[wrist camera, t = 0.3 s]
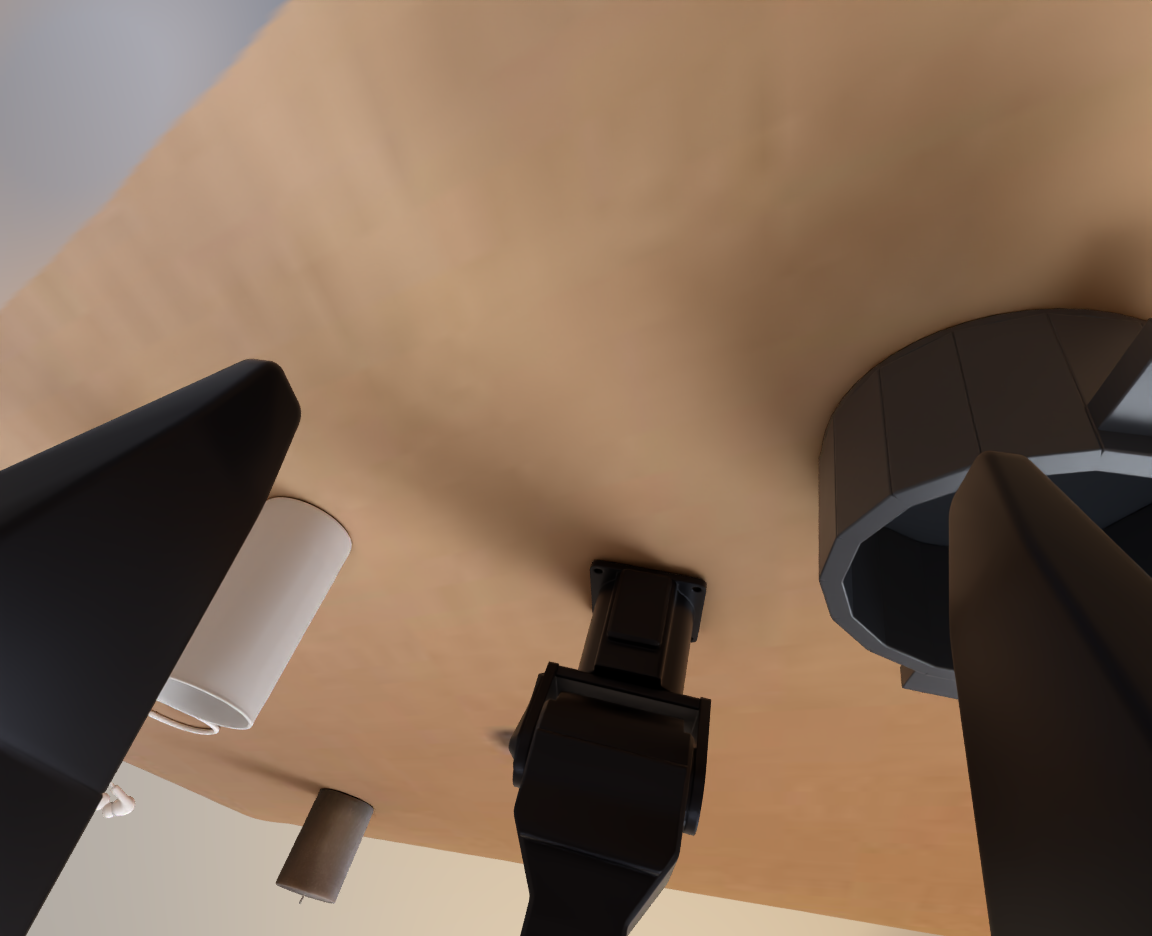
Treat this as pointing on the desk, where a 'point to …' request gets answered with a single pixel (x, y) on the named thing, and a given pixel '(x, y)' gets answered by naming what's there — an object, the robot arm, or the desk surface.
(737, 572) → the desk surface
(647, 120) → the desk surface
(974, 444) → the pot
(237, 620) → the mug
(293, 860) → the pillar candle
